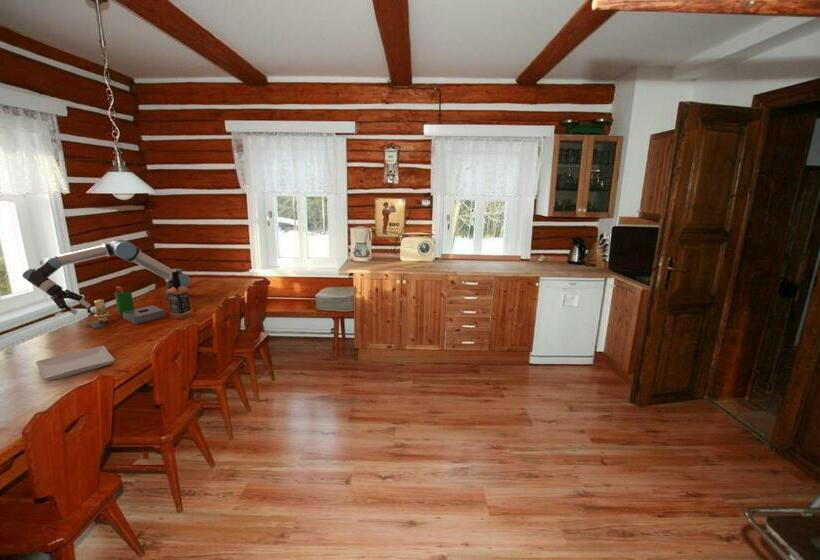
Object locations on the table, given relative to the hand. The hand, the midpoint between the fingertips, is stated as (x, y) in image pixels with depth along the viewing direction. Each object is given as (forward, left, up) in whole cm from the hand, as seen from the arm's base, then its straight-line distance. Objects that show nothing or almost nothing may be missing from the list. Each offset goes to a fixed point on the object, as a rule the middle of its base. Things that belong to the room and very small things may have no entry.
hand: (83, 309), depth 248 cm
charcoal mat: (-7, +7, -10) cm, 14 cm away
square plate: (+24, +68, -11) cm, 73 cm away
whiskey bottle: (-43, +35, -10) cm, 56 cm away
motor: (-24, -4, -10) cm, 27 cm away
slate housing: (-26, +20, -10) cm, 34 cm away
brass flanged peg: (-7, +7, -9) cm, 14 cm away
